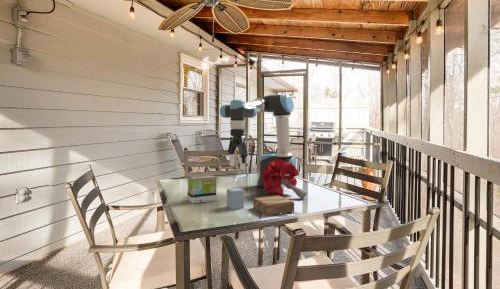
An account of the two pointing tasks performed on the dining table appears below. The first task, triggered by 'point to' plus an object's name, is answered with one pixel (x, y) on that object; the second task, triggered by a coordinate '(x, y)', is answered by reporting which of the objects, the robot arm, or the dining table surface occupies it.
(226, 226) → the dining table surface
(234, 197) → the block
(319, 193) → the dining table surface
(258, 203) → the riser
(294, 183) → the bouquet
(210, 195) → the tea box
